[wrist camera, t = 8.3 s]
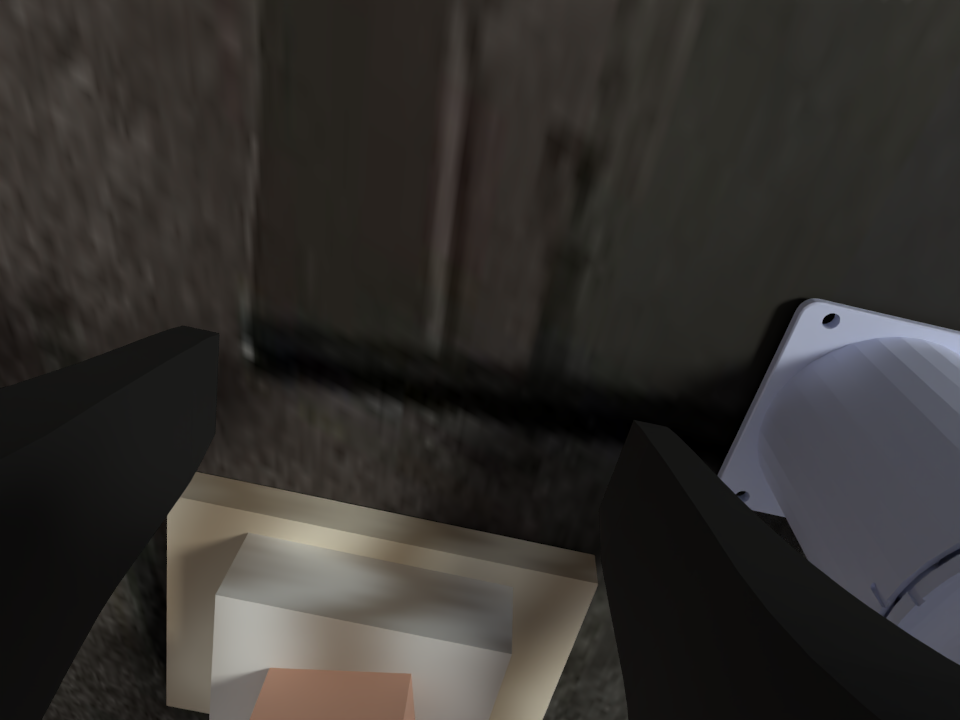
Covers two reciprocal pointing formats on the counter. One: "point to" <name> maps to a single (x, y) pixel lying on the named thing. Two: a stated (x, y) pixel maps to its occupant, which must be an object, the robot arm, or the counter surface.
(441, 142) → the counter surface
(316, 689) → the cube
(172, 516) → the base
